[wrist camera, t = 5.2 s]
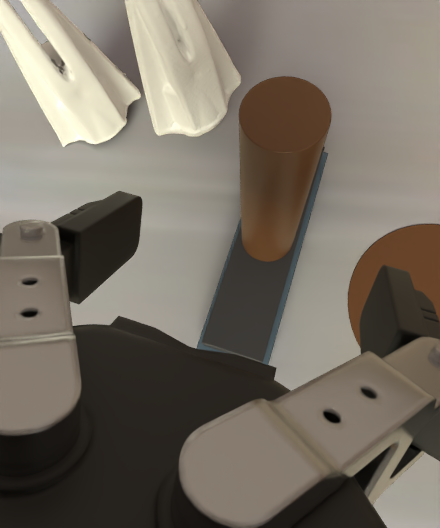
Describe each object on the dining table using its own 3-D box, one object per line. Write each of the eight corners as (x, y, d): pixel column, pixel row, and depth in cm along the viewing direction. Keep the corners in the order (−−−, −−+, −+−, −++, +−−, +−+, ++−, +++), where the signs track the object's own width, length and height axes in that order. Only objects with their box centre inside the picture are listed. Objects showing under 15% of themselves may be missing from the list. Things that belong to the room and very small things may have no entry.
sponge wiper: (199, 357, 22) (142, 311, 10) (265, 157, 25) (284, -57, 13) (262, 378, 21) (285, 357, 9) (321, 171, 25) (393, -39, 13)
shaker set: (241, 94, 27) (239, -97, 17) (240, 148, 26) (236, -23, 15) (68, 95, 28) (-39, -86, 17) (58, 147, 27) (-64, -14, 16)
